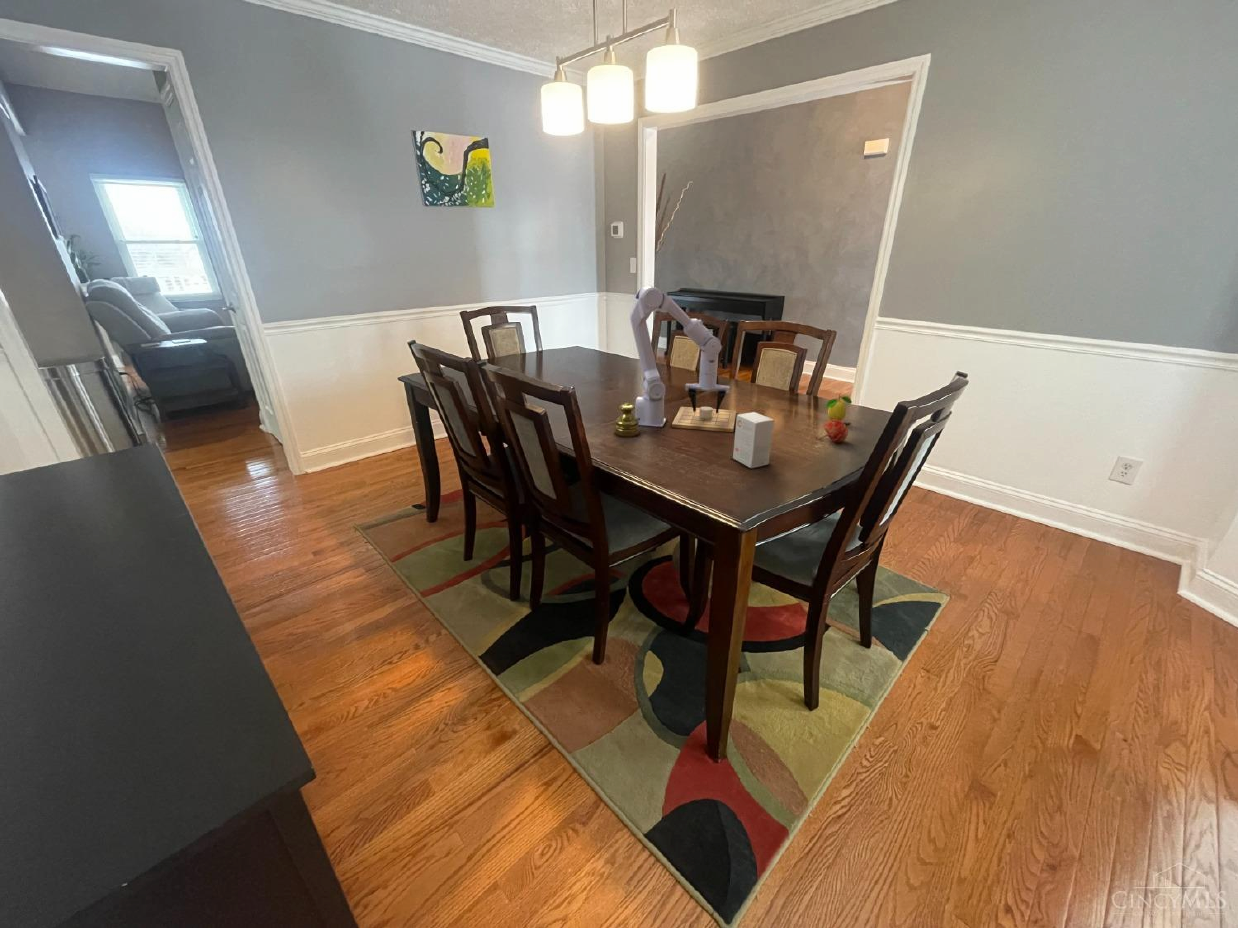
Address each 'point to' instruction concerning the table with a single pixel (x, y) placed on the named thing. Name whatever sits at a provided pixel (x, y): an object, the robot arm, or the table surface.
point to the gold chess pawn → (627, 421)
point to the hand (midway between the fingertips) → (705, 411)
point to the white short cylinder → (705, 412)
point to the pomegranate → (836, 430)
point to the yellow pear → (837, 408)
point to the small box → (753, 439)
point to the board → (705, 420)
